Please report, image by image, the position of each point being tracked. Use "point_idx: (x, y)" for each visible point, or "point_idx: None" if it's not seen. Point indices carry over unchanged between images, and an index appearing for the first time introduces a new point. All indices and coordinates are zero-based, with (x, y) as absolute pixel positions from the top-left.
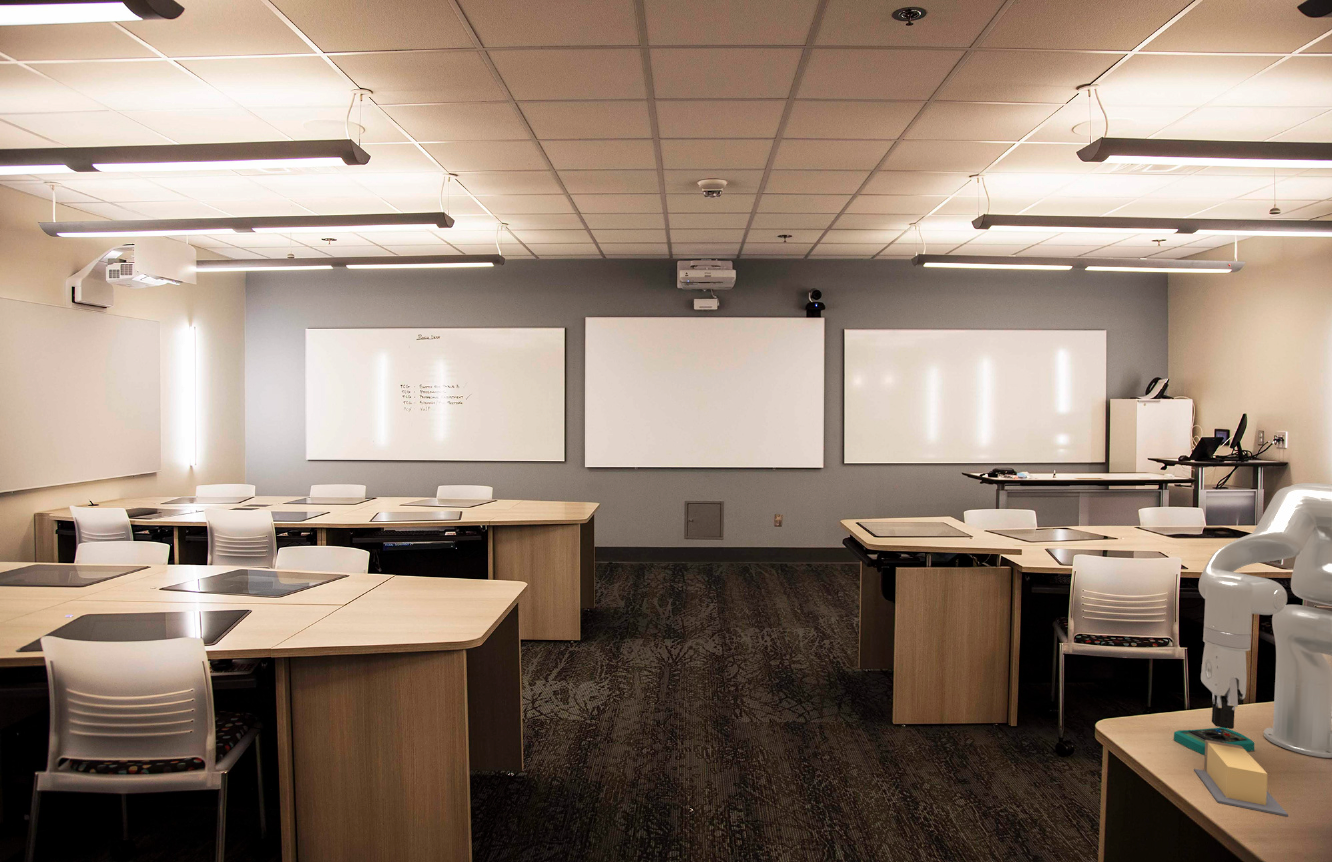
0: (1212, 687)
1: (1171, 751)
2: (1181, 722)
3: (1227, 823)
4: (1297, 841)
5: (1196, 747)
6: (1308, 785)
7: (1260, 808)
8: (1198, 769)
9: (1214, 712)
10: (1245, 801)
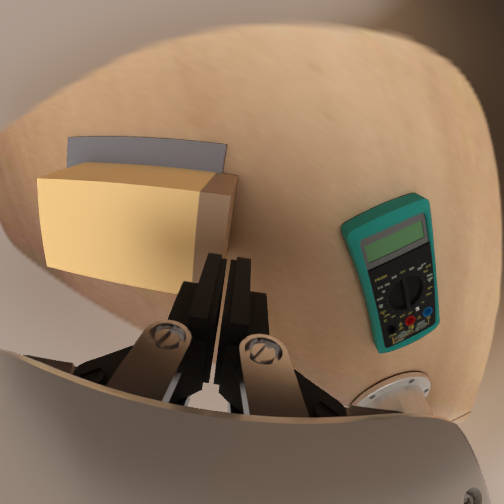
0: (13, 412)
1: (344, 141)
2: (479, 264)
3: (16, 132)
4: (13, 222)
5: (362, 218)
6: None
7: None
8: (223, 154)
9: (207, 289)
10: None
